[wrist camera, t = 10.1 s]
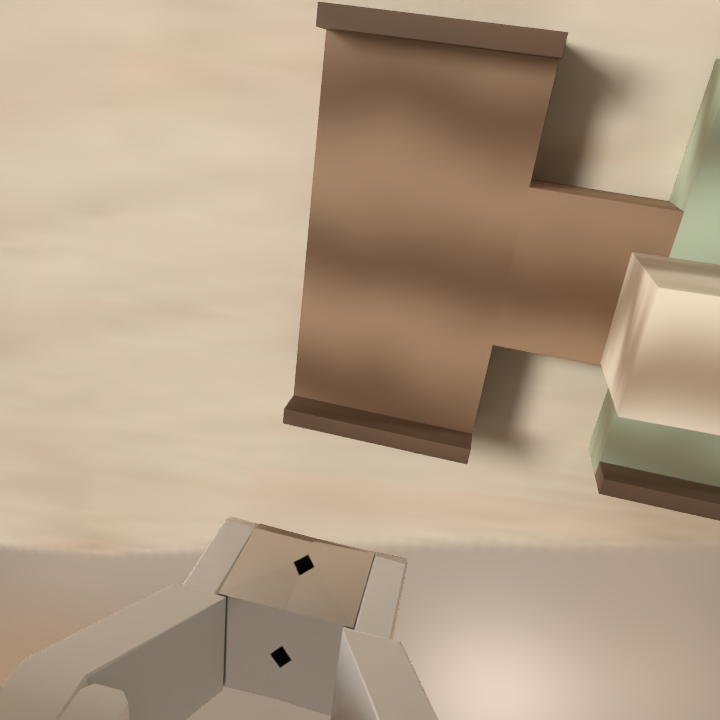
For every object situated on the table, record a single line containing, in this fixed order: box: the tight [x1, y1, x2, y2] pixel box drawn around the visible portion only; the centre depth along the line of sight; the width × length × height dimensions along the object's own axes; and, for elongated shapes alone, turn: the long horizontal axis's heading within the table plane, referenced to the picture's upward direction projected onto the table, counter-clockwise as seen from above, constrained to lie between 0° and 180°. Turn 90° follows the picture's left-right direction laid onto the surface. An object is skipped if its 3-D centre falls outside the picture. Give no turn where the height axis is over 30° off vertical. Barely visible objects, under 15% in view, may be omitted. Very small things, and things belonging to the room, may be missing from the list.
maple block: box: [601, 252, 720, 435], centre depth 24 cm, size 5×5×5 cm
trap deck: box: [283, 2, 720, 521], centre depth 27 cm, size 18×22×4 cm
